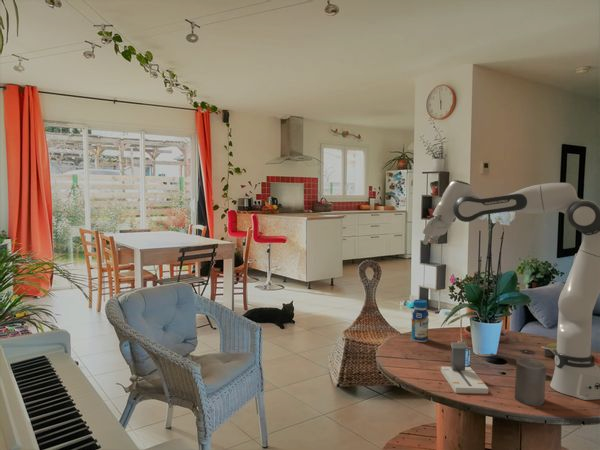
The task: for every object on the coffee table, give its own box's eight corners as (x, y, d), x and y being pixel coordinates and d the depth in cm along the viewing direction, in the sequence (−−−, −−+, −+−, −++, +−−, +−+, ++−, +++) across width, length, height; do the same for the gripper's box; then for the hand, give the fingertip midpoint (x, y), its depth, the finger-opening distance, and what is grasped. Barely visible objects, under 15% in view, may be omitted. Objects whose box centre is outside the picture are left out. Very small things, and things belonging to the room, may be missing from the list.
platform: (580, 360, 207) (581, 346, 207) (545, 363, 203) (546, 349, 203) (560, 351, 219) (560, 338, 218) (526, 354, 215) (527, 340, 215)
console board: (470, 371, 193) (470, 366, 193) (488, 393, 172) (488, 388, 172) (440, 371, 193) (440, 366, 193) (455, 392, 172) (455, 387, 172)
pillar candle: (509, 394, 171) (510, 354, 170) (534, 393, 172) (536, 354, 171) (523, 406, 162) (525, 365, 160) (550, 405, 162) (552, 364, 161)
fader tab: (464, 368, 190) (465, 342, 189) (465, 370, 188) (466, 344, 187) (450, 368, 190) (451, 342, 190) (451, 369, 188) (452, 343, 188)
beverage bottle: (417, 336, 240) (418, 298, 239) (431, 340, 234) (432, 301, 233) (407, 339, 235) (408, 300, 234) (421, 343, 229) (422, 303, 227)
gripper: (442, 219, 187) (426, 248, 191) (457, 218, 204) (442, 245, 208) (429, 211, 190) (413, 240, 194) (444, 211, 207) (430, 238, 211)
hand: (428, 243), depth 201 cm, fingers open, 8 cm apart
